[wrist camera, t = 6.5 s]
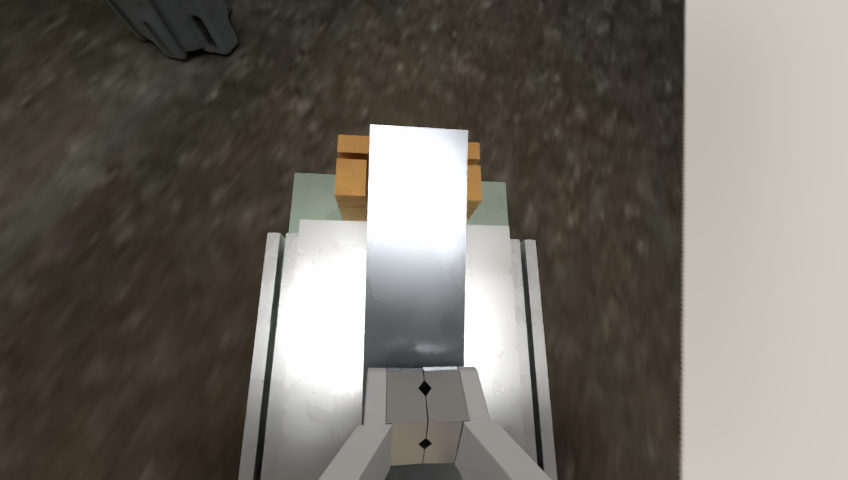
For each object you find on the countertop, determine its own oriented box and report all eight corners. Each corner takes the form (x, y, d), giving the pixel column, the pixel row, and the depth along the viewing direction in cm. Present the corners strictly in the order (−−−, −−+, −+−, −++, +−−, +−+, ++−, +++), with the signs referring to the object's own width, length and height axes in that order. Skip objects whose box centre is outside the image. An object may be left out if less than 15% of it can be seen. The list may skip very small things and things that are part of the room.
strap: (451, 683, 11) (457, 725, 10) (355, 694, 11) (352, 739, 10) (460, 140, 12) (467, 130, 11) (371, 135, 11) (370, 124, 10)
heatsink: (525, 632, 16) (640, 870, 9) (254, 660, 15) (134, 966, 8) (497, 192, 22) (552, 123, 15) (300, 184, 21) (257, 103, 13)
